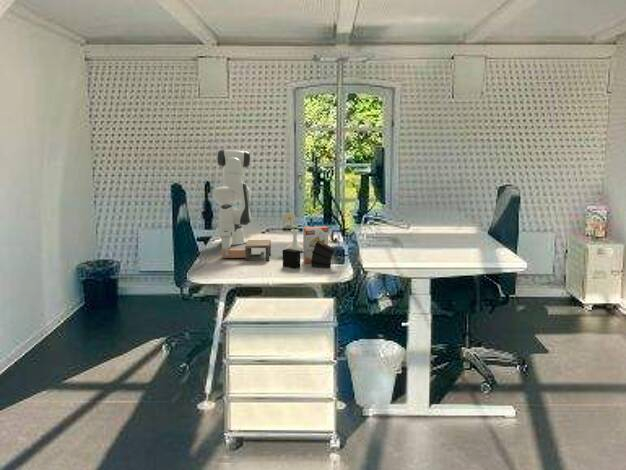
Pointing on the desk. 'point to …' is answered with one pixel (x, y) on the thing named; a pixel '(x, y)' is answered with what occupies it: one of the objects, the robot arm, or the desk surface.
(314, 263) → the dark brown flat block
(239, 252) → the brown wooden block
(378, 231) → the desk surface
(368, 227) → the desk surface
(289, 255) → the electronic device
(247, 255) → the small wooden table
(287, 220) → the flower in vase
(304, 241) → the cracker box
